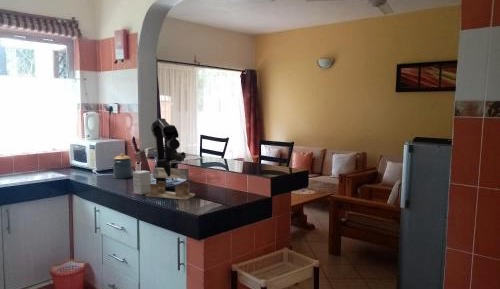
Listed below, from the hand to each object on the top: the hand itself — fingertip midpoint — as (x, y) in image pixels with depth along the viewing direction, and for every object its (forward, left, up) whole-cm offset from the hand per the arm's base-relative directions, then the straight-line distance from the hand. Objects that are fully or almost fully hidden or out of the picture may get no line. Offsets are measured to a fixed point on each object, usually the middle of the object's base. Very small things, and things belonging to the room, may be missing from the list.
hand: (170, 175), depth 208 cm
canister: (-41, -66, -11) cm, 79 cm away
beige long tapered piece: (+1, 0, -11) cm, 11 cm away
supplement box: (-1, -20, -11) cm, 23 cm away
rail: (0, 0, -1) cm, 1 cm away
